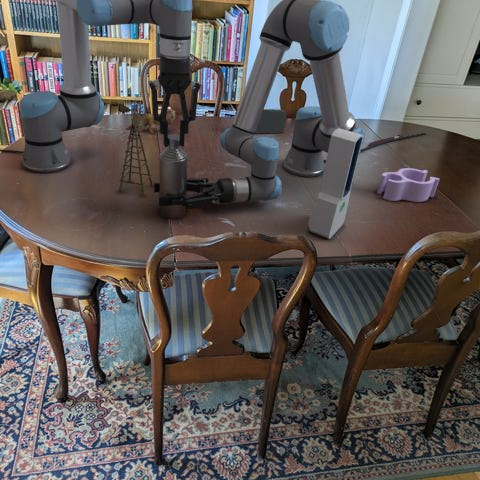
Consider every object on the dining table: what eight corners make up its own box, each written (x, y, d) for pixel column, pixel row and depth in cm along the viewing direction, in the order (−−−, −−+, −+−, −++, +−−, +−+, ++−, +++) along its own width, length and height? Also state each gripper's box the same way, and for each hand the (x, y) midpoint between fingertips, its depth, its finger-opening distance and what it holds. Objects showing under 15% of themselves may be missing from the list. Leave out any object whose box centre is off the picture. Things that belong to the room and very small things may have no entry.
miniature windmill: (143, 196, 146) (140, 101, 130) (117, 192, 147) (112, 96, 131) (153, 184, 154) (152, 93, 137) (129, 180, 155) (125, 88, 138)
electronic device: (328, 241, 134) (351, 142, 118) (305, 232, 137) (324, 134, 121) (344, 224, 143) (367, 130, 127) (322, 215, 146) (342, 123, 130)
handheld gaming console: (281, 130, 209) (284, 108, 204) (284, 133, 207) (287, 110, 202) (233, 132, 202) (235, 109, 197) (235, 134, 200) (237, 111, 195)
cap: (182, 142, 130) (182, 135, 129) (179, 148, 127) (179, 140, 126) (168, 140, 130) (168, 133, 129) (164, 146, 127) (164, 138, 126)
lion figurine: (173, 128, 199) (174, 107, 194) (176, 132, 195) (177, 111, 190) (139, 129, 194) (138, 108, 189) (141, 134, 190) (140, 112, 185)
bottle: (159, 218, 136) (158, 143, 124) (160, 205, 143) (160, 133, 131) (185, 218, 138) (188, 145, 125) (185, 206, 144) (188, 134, 132)
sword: (406, 133, 221) (407, 131, 220) (412, 136, 219) (412, 133, 218) (363, 145, 205) (363, 143, 204) (368, 148, 203) (369, 145, 202)
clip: (390, 204, 157) (396, 186, 154) (370, 187, 167) (375, 170, 163) (438, 200, 164) (444, 182, 160) (416, 184, 173) (422, 167, 170)
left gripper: (142, 58, 111) (144, 150, 123) (211, 60, 115) (206, 149, 128) (139, 51, 117) (141, 140, 129) (205, 53, 121) (200, 139, 134)
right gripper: (240, 217, 136) (162, 223, 129) (221, 185, 152) (151, 189, 146) (242, 195, 132) (162, 200, 125) (223, 164, 148) (151, 167, 142)
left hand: (173, 144), depth 129 cm, fingers closed on cap, 4 cm apart
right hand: (156, 194), depth 135 cm, fingers closed on bottle, 8 cm apart
